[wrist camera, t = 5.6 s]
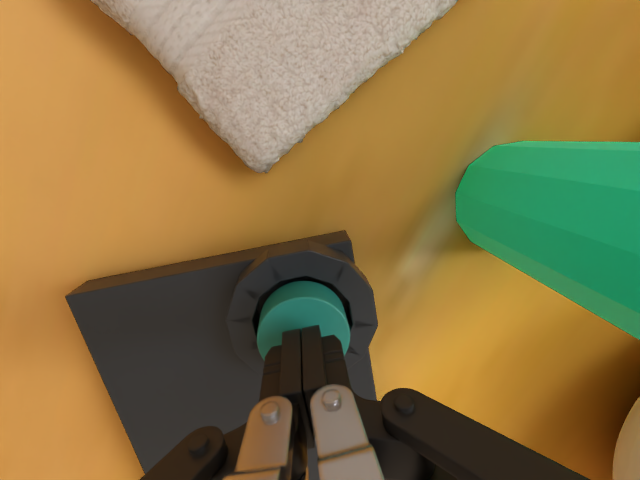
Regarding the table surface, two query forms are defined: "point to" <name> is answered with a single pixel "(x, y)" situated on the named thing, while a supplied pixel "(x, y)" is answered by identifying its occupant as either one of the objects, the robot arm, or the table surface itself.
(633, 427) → the serving bowl
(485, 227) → the candle
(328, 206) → the table surface
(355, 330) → the scale
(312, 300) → the button
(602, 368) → the table surface
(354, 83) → the washcloth
